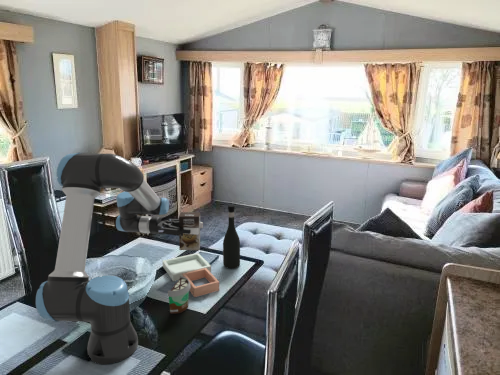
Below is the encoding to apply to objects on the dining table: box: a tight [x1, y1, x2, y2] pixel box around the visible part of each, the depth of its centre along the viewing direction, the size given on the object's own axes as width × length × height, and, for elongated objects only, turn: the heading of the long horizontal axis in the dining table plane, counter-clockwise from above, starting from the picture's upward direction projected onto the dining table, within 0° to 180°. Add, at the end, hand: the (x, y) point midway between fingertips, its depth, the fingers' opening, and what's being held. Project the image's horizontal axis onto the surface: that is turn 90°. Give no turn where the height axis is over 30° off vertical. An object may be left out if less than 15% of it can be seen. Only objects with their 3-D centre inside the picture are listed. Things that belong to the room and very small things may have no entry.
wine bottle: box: [222, 204, 241, 270], centre depth 168 cm, size 8×8×30 cm
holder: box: [183, 268, 220, 298], centre depth 153 cm, size 11×14×4 cm
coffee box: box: [178, 211, 201, 251], centre depth 162 cm, size 9×6×16 cm
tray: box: [162, 252, 212, 282], centre depth 168 cm, size 18×16×3 cm
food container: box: [167, 276, 191, 315], centre depth 137 cm, size 12×6×10 cm, turn 168°
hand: (200, 228), depth 161 cm, fingers closed on coffee box, 7 cm apart
